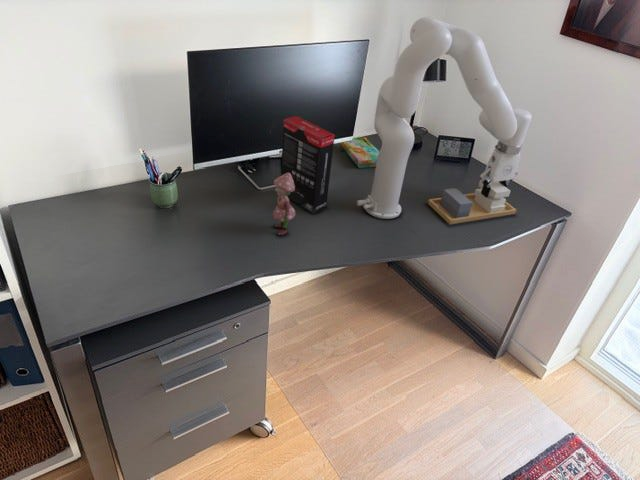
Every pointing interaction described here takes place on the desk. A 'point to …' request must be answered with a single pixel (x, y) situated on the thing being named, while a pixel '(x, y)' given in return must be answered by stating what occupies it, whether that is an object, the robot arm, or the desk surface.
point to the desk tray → (475, 213)
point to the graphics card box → (307, 162)
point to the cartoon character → (284, 201)
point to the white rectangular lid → (497, 189)
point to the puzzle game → (361, 152)
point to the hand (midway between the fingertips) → (492, 194)
